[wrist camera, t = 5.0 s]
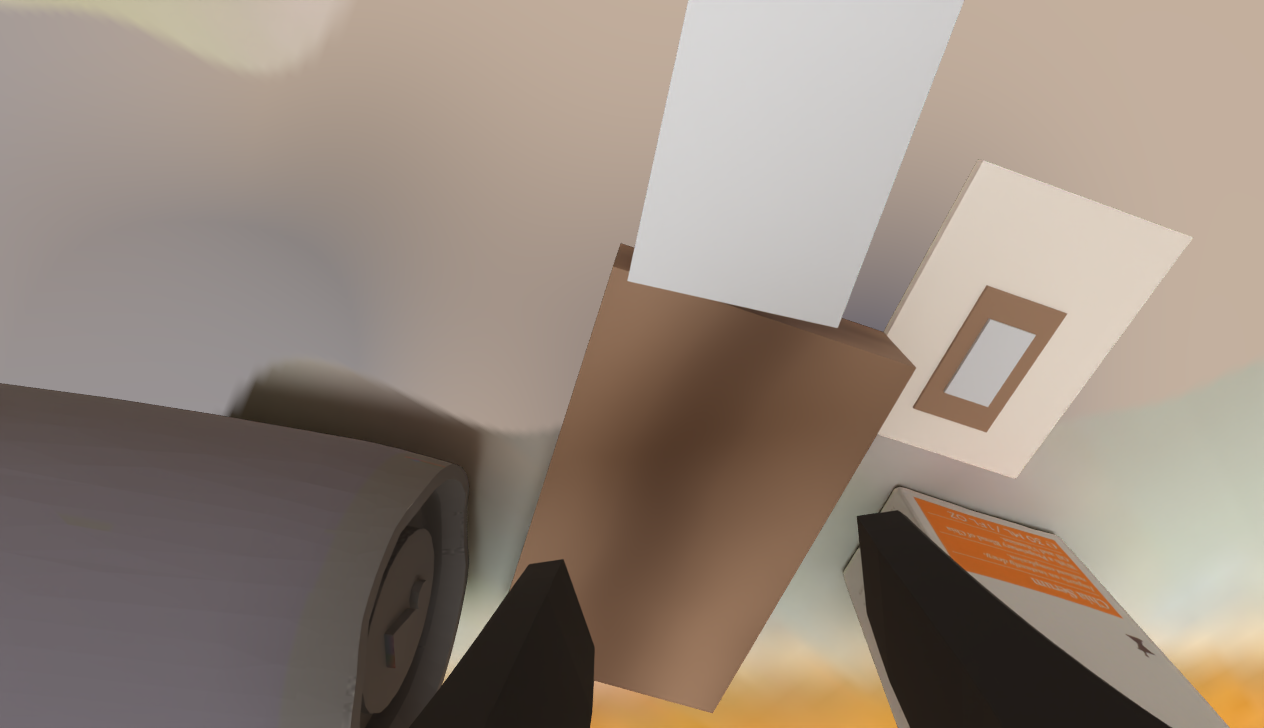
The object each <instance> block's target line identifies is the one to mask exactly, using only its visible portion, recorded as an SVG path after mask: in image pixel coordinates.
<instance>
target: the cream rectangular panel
mask: <svg viewBox="0 0 1264 728" xmlns="http://www.w3.org/2000/svg"><path fill="white" fill-rule="evenodd" d="M1192 238H1193V237H1191V236H1188V235H1185V234H1183V233H1180V232H1177V231H1175V230H1172V229H1169V228H1167V227H1164V226H1161V225H1158V224H1156V223H1153V222H1150V221H1147V220H1145V219H1142V218H1139V217H1136V216H1134V215H1131V214H1129V213H1126V212H1123V211H1120V210H1118V209H1115V208H1112V207H1109V206H1107V205H1104V204H1101V203H1098V202H1096V201H1093V200H1090V199H1088V198H1085V197H1082V196H1079V195H1077V194H1074V193H1071V192H1069V191H1066V190H1063V189H1060V188H1058V187H1055V186H1052V185H1050V184H1047V183H1044V182H1041V181H1039V180H1036V179H1033V178H1031V177H1028V176H1025V175H1022V174H1020V173H1017V172H1014V171H1012V170H1009V169H1006V168H1003V167H1000V166H998V165H995V164H992V163H990V162H987V161H984V160H980V159H978V160H977V162H976V164H975V165H974V168H973V169H972V171H971V173H970V175H969V176H968V179H967V180H966V182H965V184H964V186H963V188H962V189H961V191H960V193H959V195H958V197H957V199H956V200H955V202H954V204H953V206H952V207H951V209H950V211H949V213H948V215H947V217H946V218H945V220H944V222H943V224H942V226H941V228H940V230H939V231H938V233H937V235H936V237H935V239H934V240H933V242H932V244H931V246H930V248H929V250H928V252H927V253H926V255H925V257H924V259H923V261H922V262H921V264H920V266H919V268H918V270H917V272H916V273H915V275H914V277H913V279H912V281H911V282H910V284H909V286H908V288H907V290H906V292H905V293H904V295H903V297H902V299H901V301H900V302H899V304H898V306H897V308H896V310H895V312H894V313H893V315H892V317H891V319H890V321H889V323H888V324H887V326H886V328H885V330H884V333H885V334H886V335H887V336H888V338H889V339H890V340H891V341H892V342H893V343H894V344H895V345H896V346H897V347H898V348H899V349H900V351H901V352H902V353H903V354H904V355H905V356H906V357H907V358H908V359H909V360H910V361H911V362H912V364H913V365H914V366H915V367H916V369H915V371H914V373H913V374H912V376H911V378H910V380H909V381H908V383H907V385H906V386H905V388H904V390H903V391H902V393H901V395H900V396H899V398H898V400H897V402H896V403H895V405H894V407H893V408H892V410H891V412H890V413H889V415H888V417H887V419H886V420H885V422H884V424H883V425H882V427H881V429H880V430H879V432H878V435H881V436H884V437H887V438H890V439H893V440H896V441H899V442H902V443H906V444H909V445H912V446H915V447H918V448H921V449H924V450H927V451H930V452H933V453H937V454H940V455H943V456H946V457H949V458H952V459H955V460H958V461H961V462H964V463H968V464H971V465H974V466H977V467H980V468H983V469H986V470H989V471H992V472H995V473H999V474H1002V475H1005V476H1008V477H1011V478H1014V479H1016V478H1017V476H1018V475H1019V474H1020V472H1021V471H1022V470H1023V468H1024V467H1025V465H1026V464H1027V463H1028V461H1029V460H1030V459H1031V457H1032V456H1033V455H1034V453H1035V452H1036V451H1037V449H1038V448H1039V446H1040V445H1041V444H1042V442H1043V441H1044V440H1045V438H1046V437H1047V436H1048V434H1049V433H1050V431H1051V430H1052V429H1053V427H1054V426H1055V425H1056V423H1057V422H1058V421H1059V419H1060V418H1061V417H1062V415H1063V414H1064V412H1065V411H1066V410H1067V408H1068V407H1069V406H1070V404H1071V403H1072V402H1073V400H1074V399H1075V397H1076V396H1077V395H1078V393H1079V392H1080V391H1081V389H1082V388H1083V386H1084V385H1085V384H1086V383H1087V381H1088V380H1089V378H1090V377H1091V376H1092V374H1093V373H1094V372H1095V370H1096V369H1097V367H1098V366H1099V365H1100V363H1101V362H1102V361H1103V359H1104V358H1105V357H1106V355H1107V354H1108V353H1109V351H1110V350H1111V349H1112V347H1113V346H1114V344H1115V343H1116V342H1117V340H1118V339H1119V338H1120V336H1121V335H1122V333H1123V332H1124V331H1125V330H1126V328H1127V327H1128V325H1129V324H1130V323H1131V321H1132V320H1133V319H1134V317H1135V316H1136V315H1137V313H1138V312H1139V310H1140V309H1141V308H1142V306H1143V305H1144V304H1145V302H1146V301H1147V300H1148V298H1149V297H1150V295H1151V294H1152V292H1153V291H1154V290H1155V289H1156V287H1157V286H1158V285H1159V283H1160V282H1161V281H1162V279H1163V278H1164V276H1165V275H1166V274H1167V272H1168V271H1169V270H1170V268H1171V267H1172V265H1173V264H1174V263H1175V261H1176V260H1177V258H1178V257H1179V256H1180V255H1181V253H1182V252H1183V251H1184V249H1185V248H1186V247H1187V245H1188V244H1189V242H1190V241H1191V240H1192Z"/></svg>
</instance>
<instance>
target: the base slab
mask: <svg viewBox="0 0 1264 728" xmlns="http://www.w3.org/2000/svg"><path fill="white" fill-rule="evenodd" d="M633 253H634V248H633V247H630V246H627V245H624V244H620V247H619V250H618V253H617V256H616V259H615V262H614V265H613V268H612V272H611V274H610V277H609V281H608V284H607V287H606V290H605V293H604V296H603V299H602V303H601V306H600V309H599V312H598V315H597V318H596V321H595V324H594V328H593V331H592V334H591V337H590V340H589V343H588V346H587V349H586V353H585V356H584V359H583V362H582V365H581V368H580V371H579V374H578V378H577V381H576V384H575V387H574V390H573V393H572V396H571V400H570V403H569V406H568V409H567V412H566V415H565V418H564V421H563V424H562V428H561V431H560V434H559V437H558V440H557V443H556V446H555V449H554V453H553V456H552V459H551V462H550V465H549V468H548V471H547V474H546V478H545V481H544V484H543V487H542V490H541V493H540V496H539V499H538V503H537V506H536V509H535V512H534V515H533V518H532V521H531V525H530V528H529V531H528V534H527V537H526V540H525V543H524V546H523V550H522V553H521V556H520V559H519V562H518V565H517V568H516V571H515V575H514V578H513V581H512V584H511V587H510V590H511V588H512V587H513V585H514V584H515V583H516V581H517V580H518V579H519V577H520V576H521V574H522V573H523V572H524V570H525V569H526V568H527V566H528V565H529V564H533V563H540V562H547V561H554V560H560V559H564V562H565V564H566V567H567V570H568V573H569V576H570V579H571V581H572V584H573V587H574V590H575V593H576V595H577V598H578V601H579V604H580V607H581V610H582V612H583V615H584V618H585V621H586V624H587V627H588V629H589V632H590V635H591V638H592V641H593V643H594V646H595V657H594V681H598V682H601V683H605V684H609V685H612V686H616V687H620V688H623V689H627V690H630V691H634V692H638V693H641V694H645V695H649V696H652V697H656V698H659V699H663V700H667V701H670V702H674V703H678V704H681V705H685V706H688V707H692V708H696V709H699V710H703V711H707V712H710V713H713V712H714V710H715V708H716V707H717V705H718V703H719V702H720V700H721V698H722V696H723V695H724V693H725V691H726V690H727V688H728V686H729V685H730V683H731V681H732V680H733V678H734V676H735V674H736V673H737V671H738V669H739V668H740V666H741V664H742V663H743V661H744V659H745V658H746V656H747V654H748V652H749V651H750V649H751V647H752V646H753V644H754V642H755V641H756V639H757V637H758V635H759V634H760V632H761V630H762V629H763V627H764V625H765V624H766V622H767V620H768V619H769V617H770V615H771V613H772V612H773V610H774V608H775V607H776V605H777V603H778V602H779V600H780V598H781V596H782V595H783V593H784V591H785V590H786V588H787V586H788V585H789V583H790V581H791V580H792V578H793V576H794V574H795V573H796V571H797V569H798V568H799V566H800V564H801V563H802V561H803V559H804V558H805V556H806V554H807V552H808V551H809V549H810V547H811V546H812V544H813V542H814V541H815V539H816V537H817V535H818V534H819V532H820V530H821V529H822V527H823V525H824V524H825V522H826V520H827V519H828V517H829V515H830V513H831V512H832V510H833V508H834V507H835V505H836V503H837V502H838V500H839V498H840V496H841V495H842V493H843V491H844V490H845V488H846V486H847V485H848V483H849V481H850V480H851V478H852V476H853V474H854V473H855V471H856V469H857V468H858V466H859V464H860V463H861V461H862V459H863V457H864V456H865V454H866V452H867V451H868V449H869V447H870V446H871V444H872V442H873V441H874V439H875V437H876V435H877V434H878V432H879V430H880V429H881V427H882V425H883V424H884V422H885V420H886V419H887V417H888V415H889V413H890V412H891V410H892V408H893V407H894V405H895V403H896V402H897V400H898V398H899V396H900V395H901V393H902V391H903V390H904V388H905V386H906V385H907V383H908V381H909V380H910V378H911V376H912V374H913V373H914V371H915V369H916V367H915V366H914V365H913V364H912V362H911V361H910V360H909V359H908V358H907V357H906V356H905V355H904V354H903V353H902V352H901V351H900V349H899V348H898V347H897V346H896V345H895V344H894V343H893V342H892V341H891V340H890V339H889V338H888V336H887V335H886V334H885V333H884V332H882V331H878V330H876V329H873V328H870V327H867V326H864V325H861V324H858V323H855V322H852V321H849V320H846V319H843V318H841V321H840V323H839V326H838V328H835V327H830V326H826V325H821V324H817V323H812V322H808V321H803V320H799V319H795V318H790V317H786V316H781V315H777V314H772V313H768V312H763V311H759V310H754V309H750V308H746V307H741V306H737V305H732V304H728V303H723V302H719V301H714V300H710V299H705V298H701V297H696V296H692V295H688V294H683V293H679V292H674V291H670V290H665V289H661V288H656V287H652V286H647V285H643V284H638V283H634V282H630V281H627V280H628V276H629V271H630V266H631V262H632V257H633ZM510 590H509V591H510Z"/></svg>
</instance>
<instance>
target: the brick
mask: <svg viewBox="0 0 1264 728" xmlns="http://www.w3.org/2000/svg"><path fill="white" fill-rule="evenodd" d="M963 2H964V0H689V1H688V5H687V9H686V14H685V18H684V23H683V27H682V32H681V37H680V42H679V46H678V50H677V55H676V60H675V64H674V69H673V73H672V78H671V83H670V87H669V92H668V96H667V101H666V106H665V110H664V115H663V120H662V124H661V129H660V133H659V138H658V142H657V147H656V152H655V157H654V161H653V165H652V170H651V175H650V179H649V184H648V188H647V193H646V197H645V202H644V207H643V211H642V216H641V220H640V225H639V230H638V234H637V239H636V244H635V248H634V253H633V257H632V262H631V266H630V271H629V276H628V280H627V281H630V282H634V283H638V284H643V285H647V286H652V287H656V288H661V289H665V290H670V291H674V292H679V293H683V294H688V295H692V296H696V297H701V298H705V299H710V300H714V301H719V302H723V303H728V304H732V305H737V306H741V307H746V308H750V309H754V310H759V311H763V312H768V313H772V314H777V315H781V316H786V317H790V318H795V319H799V320H803V321H808V322H812V323H817V324H821V325H826V326H830V327H835V328H838V326H839V323H840V321H841V318H842V316H843V313H844V310H845V308H846V305H847V302H848V300H849V298H850V295H851V292H852V290H853V287H854V284H855V282H856V279H857V276H858V274H859V272H860V269H861V266H862V264H863V261H864V259H865V256H866V253H867V251H868V248H869V246H870V243H871V241H872V238H873V235H874V232H875V230H876V228H877V225H878V222H879V220H880V217H881V215H882V212H883V209H884V207H885V204H886V201H887V199H888V196H889V194H890V191H891V189H892V186H893V183H894V181H895V178H896V176H897V173H898V170H899V168H900V165H901V163H902V160H903V157H904V155H905V152H906V150H907V147H908V145H909V142H910V139H911V137H912V134H913V132H914V129H915V126H916V124H917V121H918V119H919V116H920V114H921V111H922V108H923V105H924V103H925V101H926V98H927V95H928V93H929V90H930V88H931V85H932V82H933V80H934V77H935V75H936V72H937V70H938V67H939V64H940V62H941V59H942V57H943V54H944V51H945V49H946V46H947V43H948V41H949V38H950V36H951V33H952V31H953V28H954V25H955V23H956V20H957V18H958V15H959V12H960V10H961V7H962V5H963Z"/></svg>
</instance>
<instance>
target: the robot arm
mask: <svg viewBox="0 0 1264 728" xmlns="http://www.w3.org/2000/svg"><path fill="white" fill-rule="evenodd" d="M857 522H858V532H859V542H860V552H861V562H862V572H863V582H864V592H865V602H866V612H867V616H868V619H869V622H870V625H871V628H872V631H873V634H874V638H875V641H876V644H877V647H878V650H879V653H880V656H881V659H882V662H883V664H884V667H885V670H886V673H887V676H888V679H889V682H890V684H891V686H892V688H893V691H894V693H895V695H896V698H897V700H898V702H899V704H900V707H901V709H902V711H903V713H904V715H905V718H906V720H907V722H908V724H909V727H910V728H1172V727H1170V726H1169V725H1167V724H1166V723H1164V722H1163V721H1161V720H1160V719H1158V718H1157V717H1155V716H1154V715H1152V714H1151V713H1150V712H1148V711H1147V710H1145V709H1144V708H1142V707H1141V706H1139V705H1138V704H1136V703H1135V702H1134V701H1132V700H1131V699H1129V698H1128V697H1127V696H1125V695H1124V694H1122V693H1121V692H1119V691H1118V690H1117V689H1115V688H1114V687H1113V686H1111V685H1110V684H1108V683H1107V682H1106V681H1104V680H1103V679H1101V678H1100V677H1099V676H1097V675H1096V674H1095V673H1093V672H1092V671H1090V670H1089V669H1088V668H1087V667H1085V666H1084V665H1083V664H1081V663H1080V662H1079V661H1077V660H1076V659H1075V658H1073V657H1072V656H1071V655H1069V654H1068V653H1067V652H1065V651H1064V650H1063V649H1061V648H1060V647H1059V646H1057V645H1056V644H1055V643H1053V642H1052V641H1051V640H1049V639H1048V638H1047V637H1046V636H1044V635H1043V634H1042V633H1041V632H1039V631H1038V630H1037V629H1035V628H1034V627H1033V626H1032V625H1030V624H1029V623H1028V622H1027V621H1025V620H1024V619H1023V618H1022V617H1021V616H1019V615H1018V614H1017V613H1016V612H1014V611H1013V610H1012V609H1011V608H1010V607H1008V606H1007V605H1006V604H1005V603H1004V602H1002V601H1001V600H1000V599H999V598H997V597H996V596H995V595H994V594H993V593H991V592H990V591H989V590H988V589H987V588H985V587H984V586H983V585H982V584H981V583H980V582H978V581H977V580H976V579H975V578H974V577H973V576H971V575H970V574H969V573H968V572H967V571H966V570H965V569H963V568H962V567H961V566H960V565H959V564H958V563H957V562H955V561H954V560H953V559H952V558H951V557H950V556H949V555H948V554H946V553H945V552H944V551H943V550H942V549H941V548H940V547H939V546H938V545H937V544H936V543H934V542H933V541H932V540H931V539H930V538H929V537H928V536H927V535H926V534H925V533H924V532H923V531H922V530H921V529H919V528H918V527H917V526H916V525H915V524H914V523H913V522H912V521H911V520H910V519H909V518H908V517H907V516H906V515H904V514H903V513H901V512H900V511H898V510H895V511H888V512H882V513H875V514H868V515H861V516H857ZM594 657H595V646H594V643H593V641H592V638H591V635H590V632H589V629H588V627H587V624H586V621H585V618H584V615H583V612H582V610H581V607H580V604H579V601H578V598H577V595H576V593H575V590H574V587H573V584H572V581H571V579H570V576H569V573H568V570H567V567H566V564H565V562H564V559H560V560H554V561H547V562H540V563H533V564H529V565H528V566H527V568H526V569H525V570H524V572H523V573H522V574H521V576H520V577H519V579H518V580H517V581H516V583H515V584H514V585H513V587H512V588H511V590H510V591H509V593H508V594H507V595H506V597H505V598H504V600H503V601H502V603H501V604H500V605H499V607H498V608H497V610H496V611H495V613H494V614H493V616H492V617H491V618H490V620H489V621H488V623H487V624H486V625H485V627H484V628H483V630H482V631H481V633H480V634H479V635H478V637H477V638H476V640H475V641H474V642H473V644H472V645H471V646H470V648H469V649H468V651H467V652H466V653H465V655H464V656H463V657H462V659H461V660H460V662H459V663H458V664H457V666H456V667H455V668H454V670H453V671H452V673H451V674H450V675H449V677H448V678H447V679H446V681H445V682H444V683H443V685H442V686H441V687H440V689H439V690H438V691H437V692H436V694H435V695H434V696H433V697H432V699H431V700H430V701H429V703H428V704H427V705H426V706H425V708H424V709H423V710H422V711H421V713H420V714H419V715H418V717H417V718H416V719H415V720H414V722H413V723H412V724H411V725H410V727H409V728H590V723H591V716H592V705H593V686H594Z"/></svg>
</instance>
